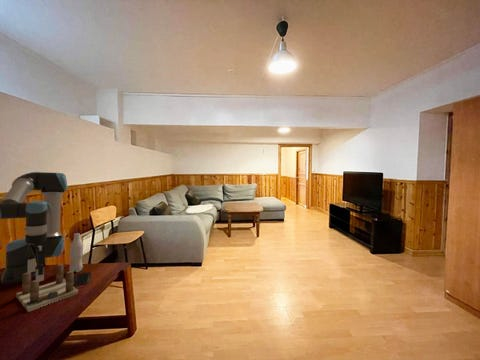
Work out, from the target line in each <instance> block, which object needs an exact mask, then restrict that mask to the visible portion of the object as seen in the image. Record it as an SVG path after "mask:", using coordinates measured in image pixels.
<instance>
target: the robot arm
mask: <svg viewBox="0 0 480 360" xmlns="http://www.w3.org/2000/svg"><path fill="white" fill-rule="evenodd" d="M32 191H41V192H40V194H41V195H42V196H43V200H33V201H28V202H24V201H25V199H26V197H27V196H28V194H29V193H30V192H32ZM65 191H68V180H67V176H66V174H64V173H63V172H39V171H34V172H33V171H32V172H28V173H27V172H26V173H24V174H22V175H20V176H19V177H16V178H15V179H14V180H13V181H12V183H11V187H10V189H9V190H8V192H7V193H6V194H5V195H4V197H3V198H2V200H1V201H0V220H6V219H25V228H23V230H24V231H25V237H23V238H17V239H16V240H15V239H14V240H12V241H10V242H8V243H7V244H6V248H5V269H4V270H3V273H2V275H1V278H0V283H1V284H3V285H14V284H20V283H22V275H23V274H24V273H31V280H32V279H33V278H35V280H36V282H39V283H40V282H42V281H45V268H46V267H47V263H46V258H55V257H59V256H61V255H62V254H63V251H64V247H65V243H66V237H63V234H62V233H61V231H60V230H61V229H60V228H61V227H60V226H61V212H62V211H61V207H62V196H63V195H64V194H65Z"/></svg>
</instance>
